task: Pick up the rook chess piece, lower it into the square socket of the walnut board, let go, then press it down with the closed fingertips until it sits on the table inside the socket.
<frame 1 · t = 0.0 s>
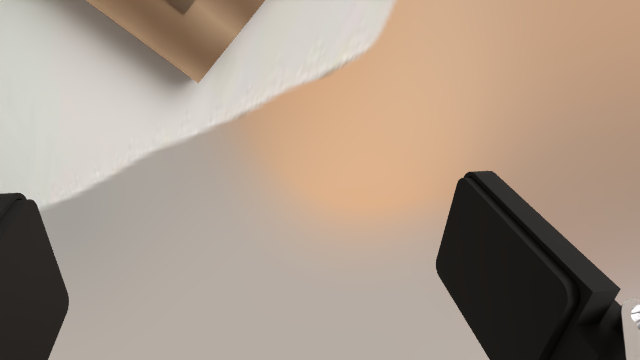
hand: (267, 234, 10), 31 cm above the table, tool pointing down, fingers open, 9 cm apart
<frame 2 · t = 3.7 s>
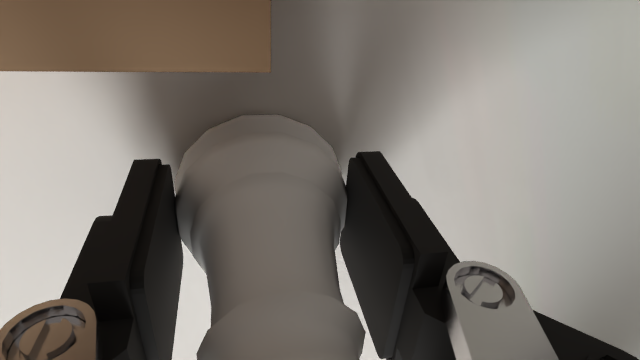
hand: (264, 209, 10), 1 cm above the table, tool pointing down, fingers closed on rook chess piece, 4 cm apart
rook chess piece: (259, 178, 12), on the table, touching gripper
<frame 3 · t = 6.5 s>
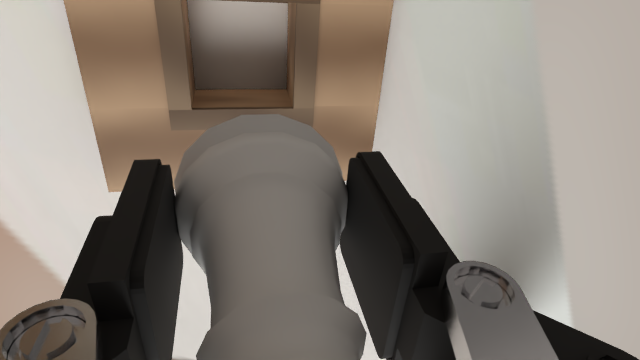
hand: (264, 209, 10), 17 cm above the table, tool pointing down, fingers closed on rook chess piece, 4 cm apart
rook chess piece: (259, 178, 12), point 15 cm above the table, touching gripper
walnut board: (240, 43, 24), on the table
when the fingers open (4 cm above the table, at t = 9.5 s): rook chess piece drops 2 cm, resting in walnut board.
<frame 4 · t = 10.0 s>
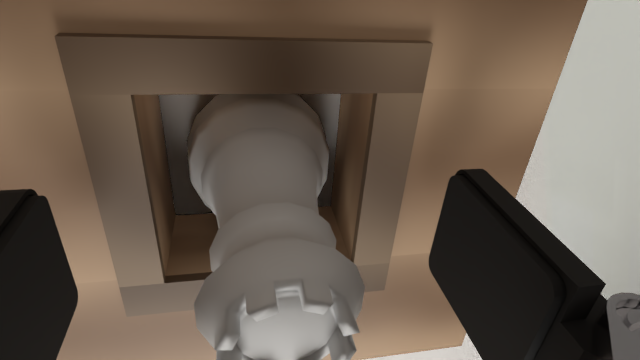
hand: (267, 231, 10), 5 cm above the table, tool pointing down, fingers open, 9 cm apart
rook chess piece: (257, 141, 14), resting in walnut board
walnut board: (254, 141, 14), on the table
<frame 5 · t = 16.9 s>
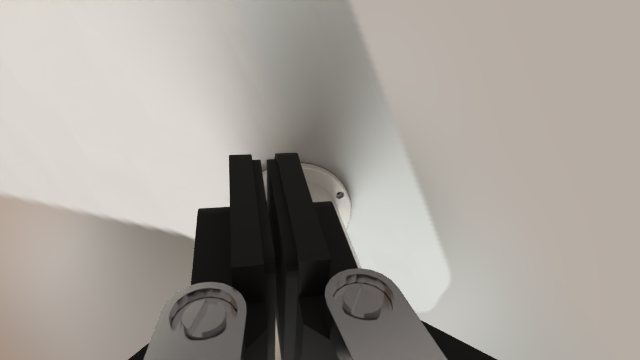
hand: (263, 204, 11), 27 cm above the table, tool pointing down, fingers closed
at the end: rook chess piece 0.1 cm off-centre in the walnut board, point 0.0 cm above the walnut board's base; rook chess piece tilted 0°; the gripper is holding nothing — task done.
